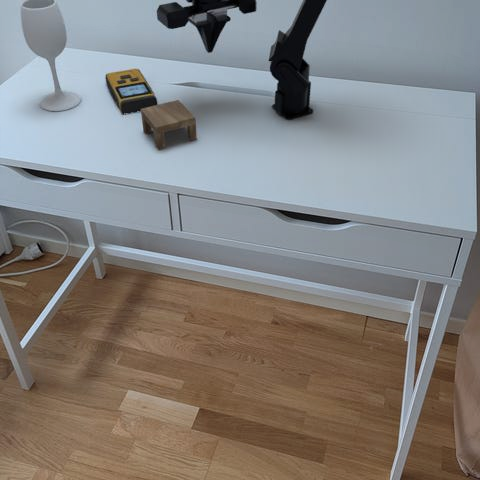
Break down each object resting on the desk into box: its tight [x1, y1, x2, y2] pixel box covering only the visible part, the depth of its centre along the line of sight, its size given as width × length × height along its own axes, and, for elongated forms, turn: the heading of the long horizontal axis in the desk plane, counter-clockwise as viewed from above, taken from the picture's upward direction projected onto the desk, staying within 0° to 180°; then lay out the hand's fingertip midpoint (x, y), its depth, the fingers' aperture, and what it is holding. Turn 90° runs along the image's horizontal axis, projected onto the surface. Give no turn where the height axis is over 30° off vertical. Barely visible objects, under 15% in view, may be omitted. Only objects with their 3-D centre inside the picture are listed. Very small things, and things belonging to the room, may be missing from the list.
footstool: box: [140, 99, 198, 151], centre depth 115 cm, size 5×8×8 cm
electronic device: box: [104, 68, 158, 115], centre depth 128 cm, size 8×16×3 cm, turn 22°
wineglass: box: [20, 0, 82, 112], centre depth 120 cm, size 9×9×21 cm
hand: (209, 51), depth 117 cm, fingers closed
